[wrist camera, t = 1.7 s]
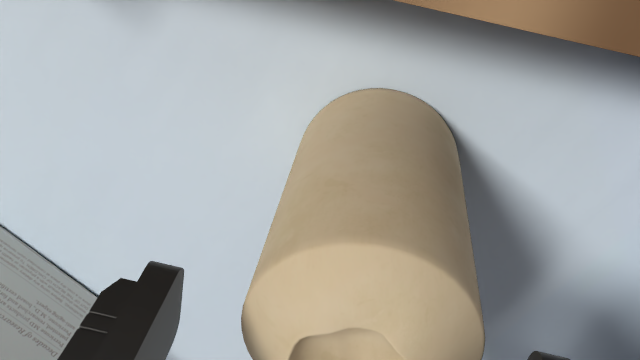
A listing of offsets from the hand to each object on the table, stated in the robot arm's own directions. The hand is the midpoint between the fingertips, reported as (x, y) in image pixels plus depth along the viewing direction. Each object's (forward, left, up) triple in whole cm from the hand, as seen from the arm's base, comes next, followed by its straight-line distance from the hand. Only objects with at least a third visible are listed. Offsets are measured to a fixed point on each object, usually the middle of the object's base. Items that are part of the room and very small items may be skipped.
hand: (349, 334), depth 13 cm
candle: (0, 0, -9) cm, 9 cm away
